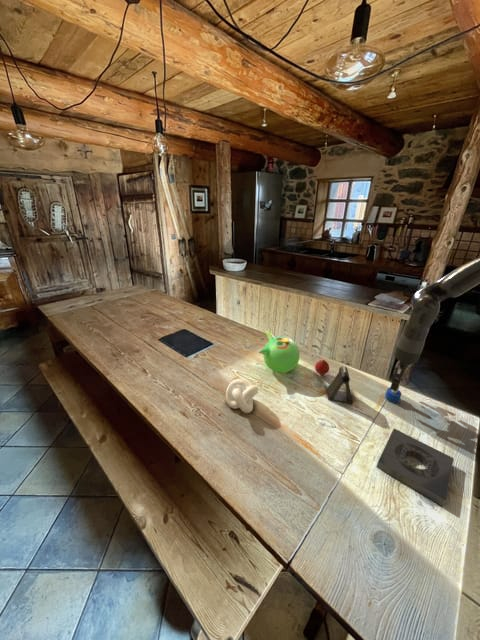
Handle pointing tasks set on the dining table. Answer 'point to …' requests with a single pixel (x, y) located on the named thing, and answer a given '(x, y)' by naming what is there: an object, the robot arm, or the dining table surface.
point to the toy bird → (280, 353)
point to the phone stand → (335, 386)
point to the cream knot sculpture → (240, 395)
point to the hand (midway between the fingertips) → (396, 384)
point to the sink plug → (393, 395)
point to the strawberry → (322, 367)
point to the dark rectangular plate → (422, 480)
